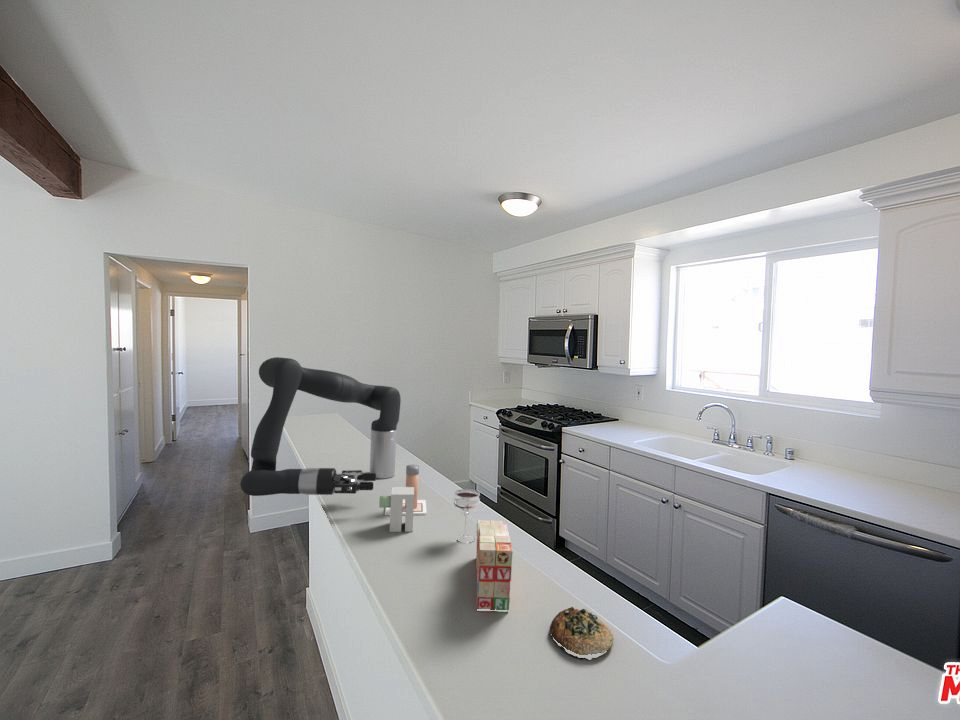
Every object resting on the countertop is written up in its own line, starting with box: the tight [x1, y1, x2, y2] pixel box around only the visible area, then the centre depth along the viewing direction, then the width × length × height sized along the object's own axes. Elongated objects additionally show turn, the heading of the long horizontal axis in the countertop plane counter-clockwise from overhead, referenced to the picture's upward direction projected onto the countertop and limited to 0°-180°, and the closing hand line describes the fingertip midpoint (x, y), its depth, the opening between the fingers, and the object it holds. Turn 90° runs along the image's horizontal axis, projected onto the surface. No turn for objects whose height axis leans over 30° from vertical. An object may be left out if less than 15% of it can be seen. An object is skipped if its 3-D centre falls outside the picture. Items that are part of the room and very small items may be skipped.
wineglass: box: [453, 488, 481, 544], centre depth 114 cm, size 7×7×12 cm
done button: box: [378, 495, 391, 509], centre depth 119 cm, size 3×4×3 cm
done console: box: [389, 486, 414, 533], centre depth 120 cm, size 6×6×10 cm
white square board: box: [384, 499, 428, 516], centre depth 134 cm, size 11×12×1 cm
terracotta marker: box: [404, 464, 420, 509], centre depth 133 cm, size 4×4×12 cm
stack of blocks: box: [475, 519, 514, 611], centre depth 94 cm, size 21×6×12 cm, turn 1°
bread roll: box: [549, 606, 615, 655], centre depth 77 cm, size 11×11×5 cm
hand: (374, 481), depth 131 cm, fingers open, 8 cm apart
